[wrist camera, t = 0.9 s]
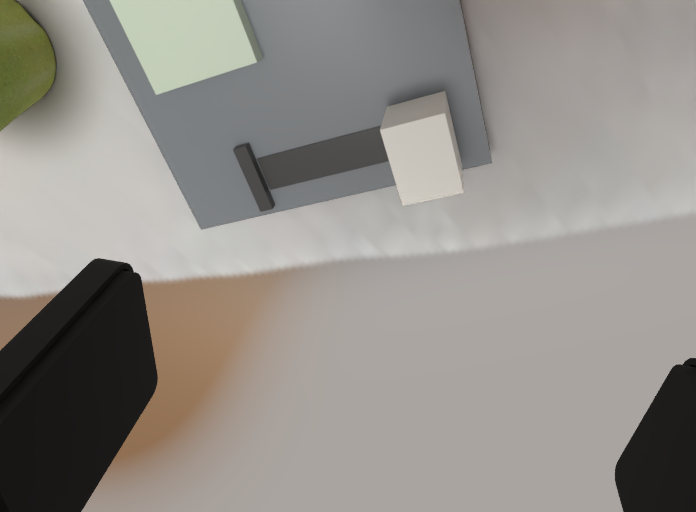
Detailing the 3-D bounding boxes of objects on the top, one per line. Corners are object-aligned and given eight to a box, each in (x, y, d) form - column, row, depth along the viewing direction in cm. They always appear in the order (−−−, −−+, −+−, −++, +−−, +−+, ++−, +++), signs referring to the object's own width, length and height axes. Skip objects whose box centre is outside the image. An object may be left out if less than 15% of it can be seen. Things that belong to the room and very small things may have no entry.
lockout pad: (212, -74, 25) (204, -73, 24) (263, 57, 28) (257, 62, 27) (107, -30, 26) (95, -28, 26) (164, 89, 29) (156, 95, 28)
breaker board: (431, -145, 23) (429, -149, 21) (489, 152, 30) (492, 167, 28) (96, -9, 28) (73, -4, 27) (209, 218, 35) (197, 234, 33)
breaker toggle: (445, 90, 27) (444, 113, 24) (462, 163, 29) (463, 192, 26) (386, 106, 27) (379, 130, 25) (406, 176, 29) (402, 206, 26)
